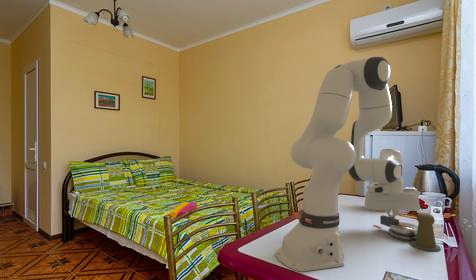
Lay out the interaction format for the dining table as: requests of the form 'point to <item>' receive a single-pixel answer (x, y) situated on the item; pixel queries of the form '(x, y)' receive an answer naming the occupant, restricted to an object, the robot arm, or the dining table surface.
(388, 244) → the dining table surface
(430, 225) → the cork
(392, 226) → the saucepan
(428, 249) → the coaster
